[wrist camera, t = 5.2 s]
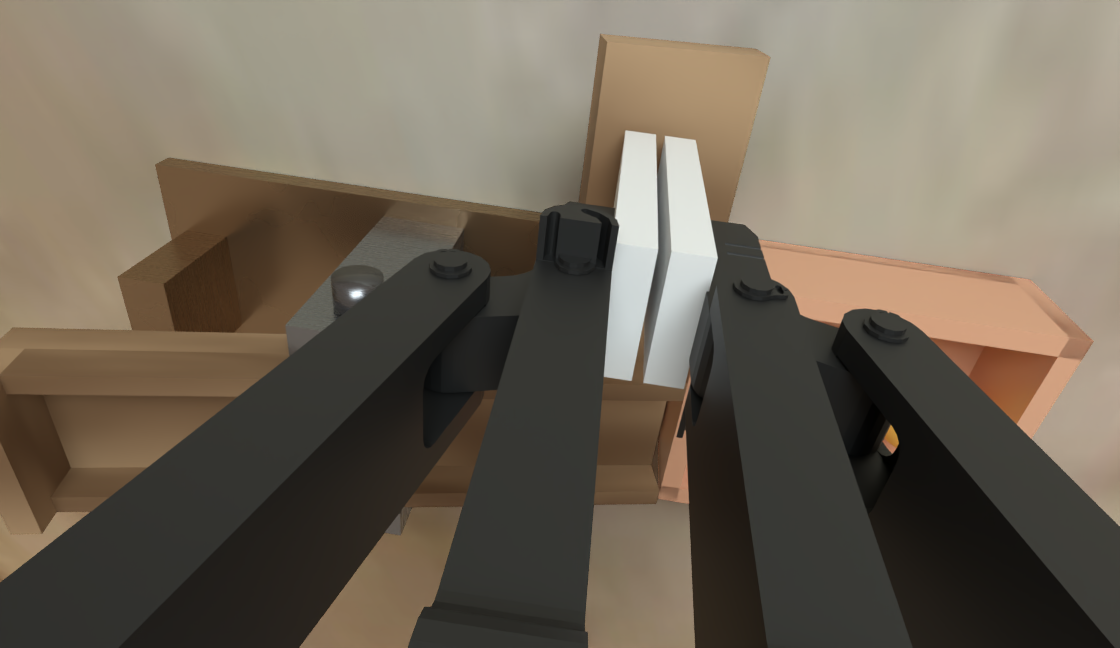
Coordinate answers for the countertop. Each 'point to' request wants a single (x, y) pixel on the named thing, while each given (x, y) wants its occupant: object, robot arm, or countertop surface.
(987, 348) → the dish
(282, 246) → the lever stand
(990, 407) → the robot arm
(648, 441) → the lever
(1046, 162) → the countertop surface
